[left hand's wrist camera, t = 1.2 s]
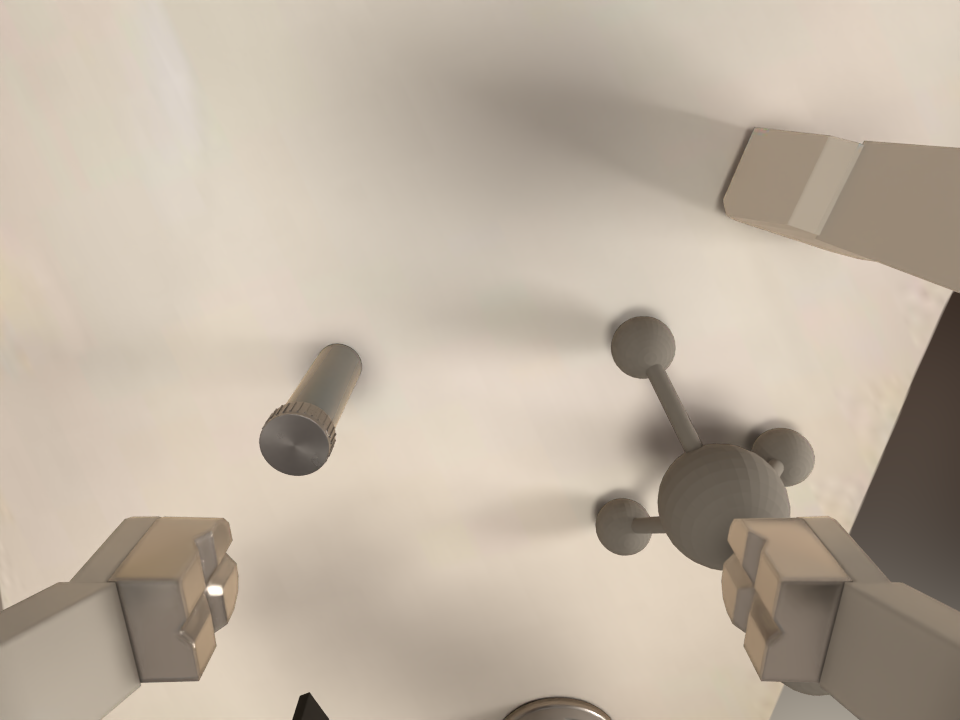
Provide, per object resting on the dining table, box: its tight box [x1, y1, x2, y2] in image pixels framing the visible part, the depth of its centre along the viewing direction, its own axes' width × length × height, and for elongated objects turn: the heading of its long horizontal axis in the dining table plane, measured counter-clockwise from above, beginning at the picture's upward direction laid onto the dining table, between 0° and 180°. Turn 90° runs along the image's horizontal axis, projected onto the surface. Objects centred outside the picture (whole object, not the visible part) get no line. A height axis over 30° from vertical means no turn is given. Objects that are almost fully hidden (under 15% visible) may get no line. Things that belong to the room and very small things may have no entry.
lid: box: [259, 401, 336, 476], centre depth 47 cm, size 5×5×2 cm
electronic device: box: [723, 128, 960, 293], centre depth 41 cm, size 12×8×30 cm, turn 73°
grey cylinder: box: [286, 344, 362, 428], centre depth 54 cm, size 4×4×15 cm
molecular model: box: [596, 316, 829, 696], centre depth 50 cm, size 24×22×30 cm
